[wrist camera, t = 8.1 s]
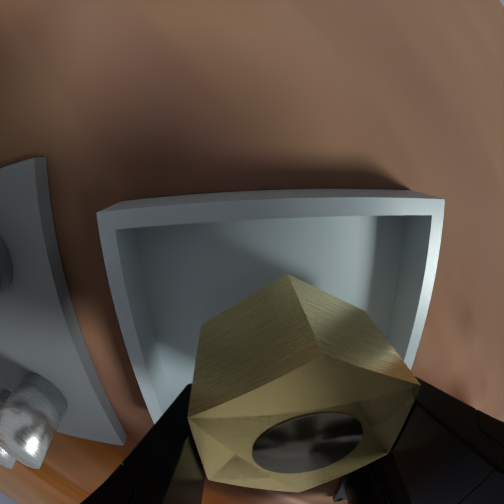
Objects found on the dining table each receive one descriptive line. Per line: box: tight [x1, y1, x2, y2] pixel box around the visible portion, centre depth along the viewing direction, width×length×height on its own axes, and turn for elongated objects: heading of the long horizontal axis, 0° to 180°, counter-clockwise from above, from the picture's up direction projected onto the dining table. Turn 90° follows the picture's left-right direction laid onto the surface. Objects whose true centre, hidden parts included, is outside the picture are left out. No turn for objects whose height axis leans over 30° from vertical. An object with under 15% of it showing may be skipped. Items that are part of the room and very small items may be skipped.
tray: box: [96, 189, 445, 424], centre depth 10 cm, size 10×10×2 cm
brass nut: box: [187, 274, 421, 492], centre depth 7 cm, size 6×5×4 cm
